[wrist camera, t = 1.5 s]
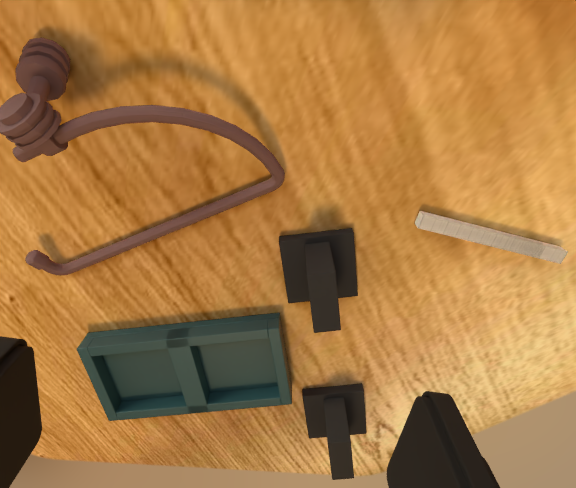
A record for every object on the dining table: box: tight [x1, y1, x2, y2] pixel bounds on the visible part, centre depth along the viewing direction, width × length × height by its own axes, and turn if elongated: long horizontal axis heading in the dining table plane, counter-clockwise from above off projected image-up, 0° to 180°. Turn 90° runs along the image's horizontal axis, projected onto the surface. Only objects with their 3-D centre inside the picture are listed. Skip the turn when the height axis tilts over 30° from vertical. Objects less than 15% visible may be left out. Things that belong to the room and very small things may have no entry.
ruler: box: [415, 211, 568, 264], centre depth 32 cm, size 12×1×1 cm, turn 75°
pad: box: [302, 384, 366, 480], centre depth 39 cm, size 6×6×6 cm
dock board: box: [77, 313, 292, 421], centre depth 38 cm, size 18×9×2 cm, turn 97°
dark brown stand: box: [279, 228, 358, 333], centre depth 31 cm, size 6×6×6 cm
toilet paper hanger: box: [0, 38, 285, 275], centre depth 28 cm, size 22×8×14 cm
